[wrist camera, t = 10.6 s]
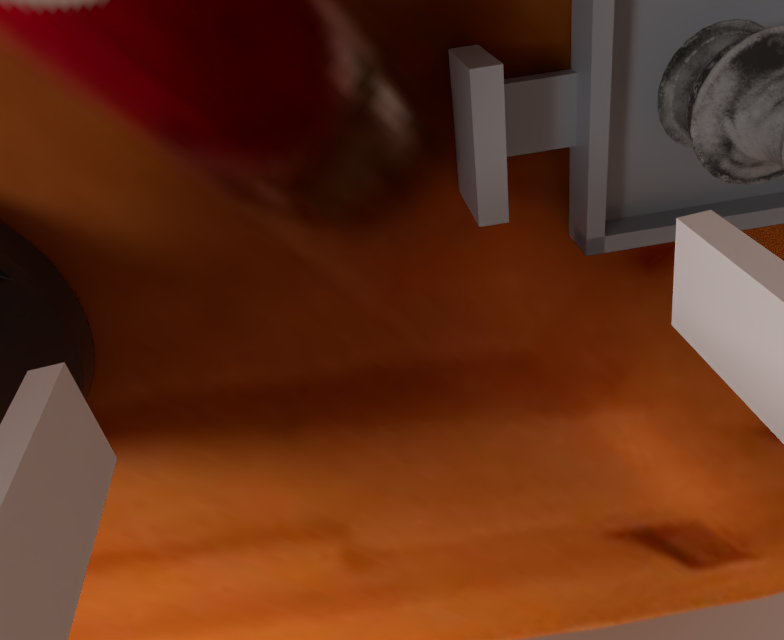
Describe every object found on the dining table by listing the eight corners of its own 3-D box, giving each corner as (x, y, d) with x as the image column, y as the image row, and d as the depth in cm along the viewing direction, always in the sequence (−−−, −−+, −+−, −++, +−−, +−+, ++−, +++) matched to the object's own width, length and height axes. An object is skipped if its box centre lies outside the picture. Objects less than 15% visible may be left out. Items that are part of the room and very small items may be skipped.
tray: (463, 251, 32) (483, 293, 29) (441, -36, 26) (463, -27, 22) (816, 194, 33) (876, 227, 29) (878, -101, 26) (965, -102, 23)
